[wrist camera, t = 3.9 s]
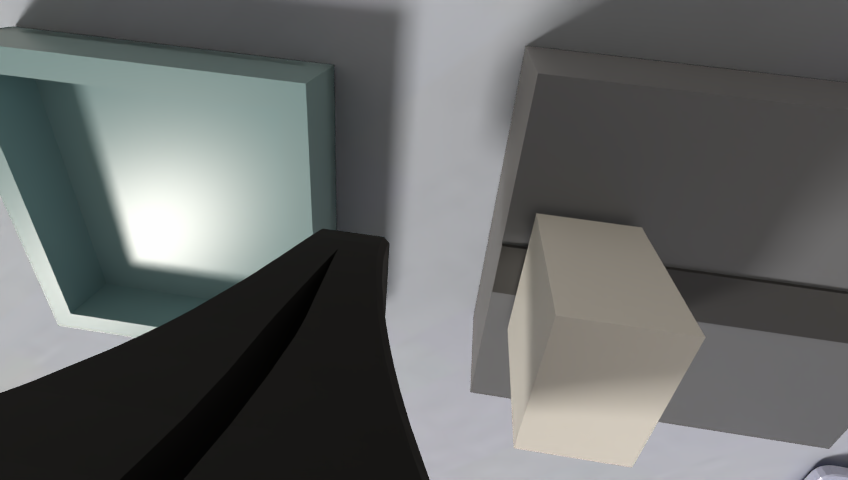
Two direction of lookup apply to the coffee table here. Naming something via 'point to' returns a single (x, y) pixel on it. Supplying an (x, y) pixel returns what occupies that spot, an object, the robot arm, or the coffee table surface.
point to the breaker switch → (594, 341)
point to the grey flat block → (694, 224)
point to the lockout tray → (157, 170)
